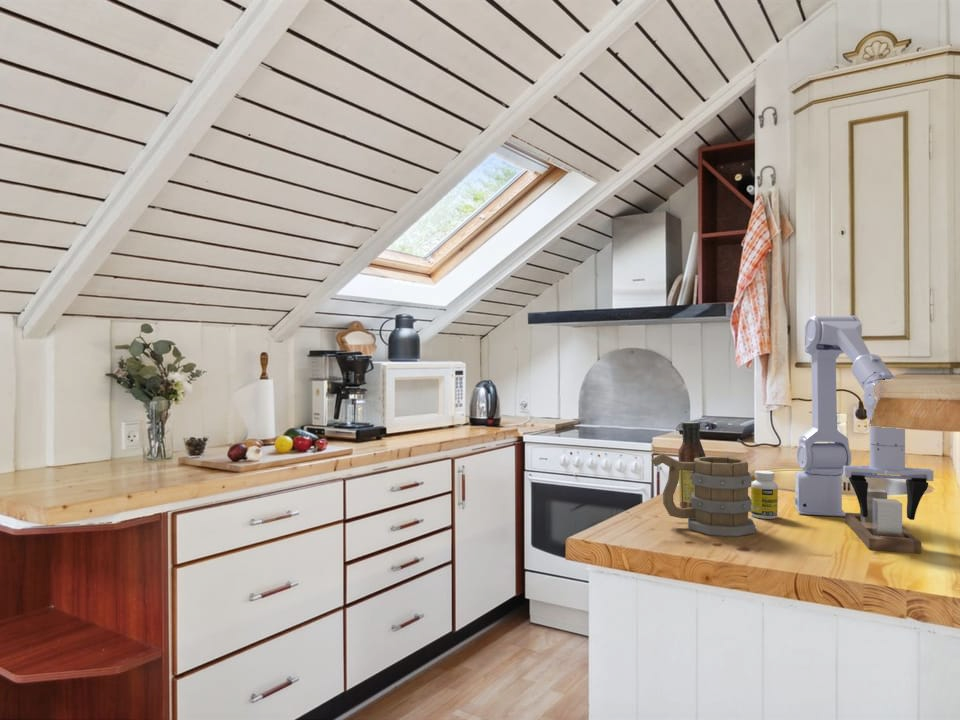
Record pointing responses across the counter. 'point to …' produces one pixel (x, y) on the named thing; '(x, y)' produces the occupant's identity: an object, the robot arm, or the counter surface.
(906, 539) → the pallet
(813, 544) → the counter surface
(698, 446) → the sauce bottle
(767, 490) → the supplement bottle
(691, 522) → the tankard
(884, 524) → the block
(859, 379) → the robot arm
